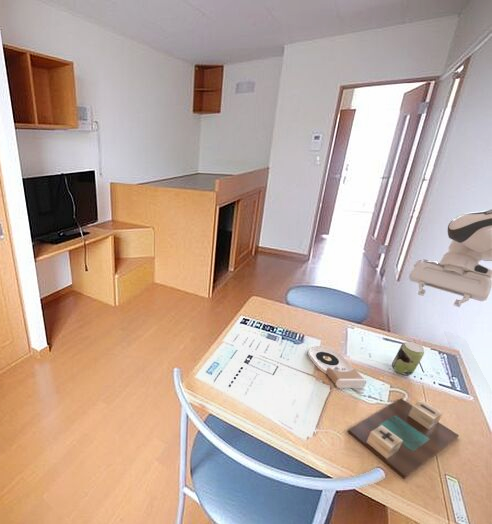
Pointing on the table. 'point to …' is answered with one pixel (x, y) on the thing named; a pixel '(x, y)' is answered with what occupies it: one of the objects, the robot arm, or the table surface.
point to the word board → (404, 435)
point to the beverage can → (408, 358)
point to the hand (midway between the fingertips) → (437, 299)
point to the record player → (336, 367)
